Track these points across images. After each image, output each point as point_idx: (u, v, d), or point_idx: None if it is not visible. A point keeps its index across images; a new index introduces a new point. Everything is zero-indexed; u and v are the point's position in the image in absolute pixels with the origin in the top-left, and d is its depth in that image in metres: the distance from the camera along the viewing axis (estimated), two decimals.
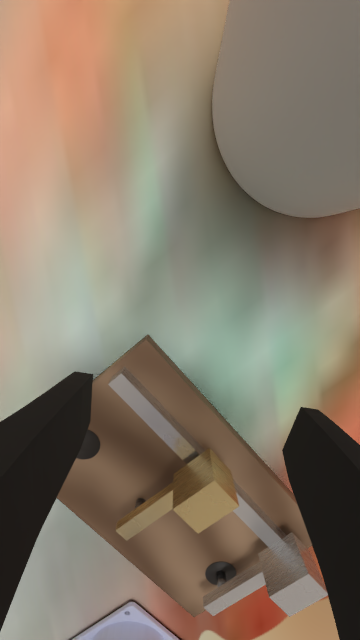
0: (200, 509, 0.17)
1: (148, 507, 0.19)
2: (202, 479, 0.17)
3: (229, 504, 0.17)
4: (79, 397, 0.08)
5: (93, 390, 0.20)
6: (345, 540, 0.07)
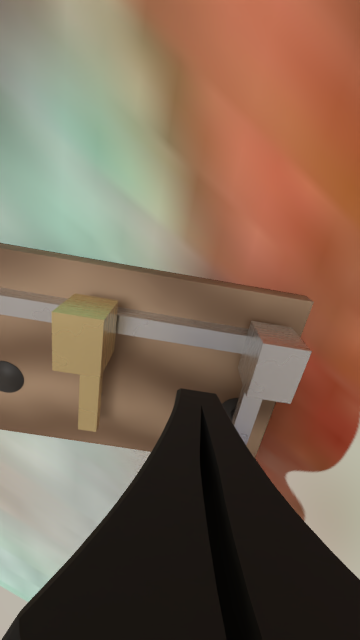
0: (74, 351, 0.13)
1: (80, 390, 0.17)
2: None
3: (92, 326, 0.13)
4: None
5: None
6: None
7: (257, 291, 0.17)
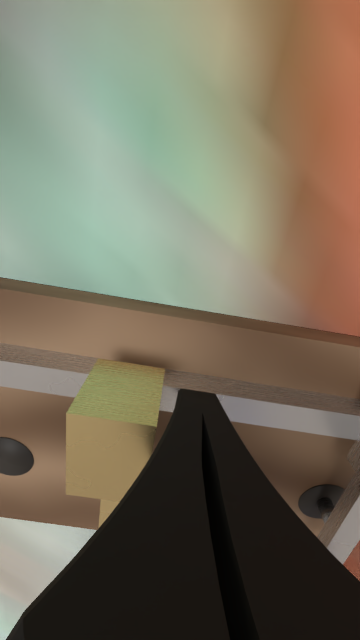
0: (102, 470, 0.08)
1: None
2: None
3: (136, 435, 0.07)
4: None
5: None
6: None
7: None
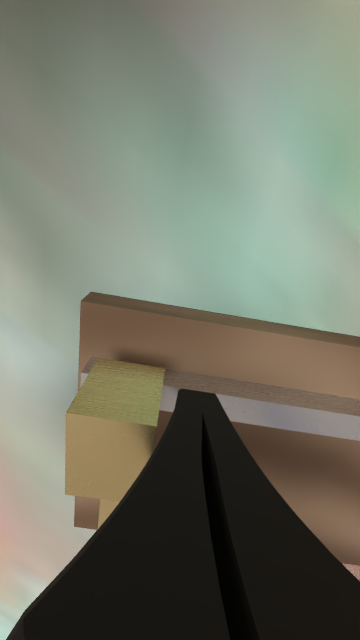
0: (102, 470, 0.08)
1: None
2: None
3: (137, 434, 0.07)
4: None
5: None
6: None
7: None
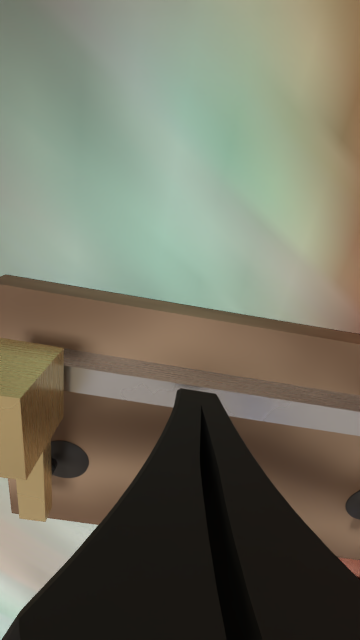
0: None
1: None
2: None
3: (2, 407, 0.07)
4: None
5: None
6: None
7: None
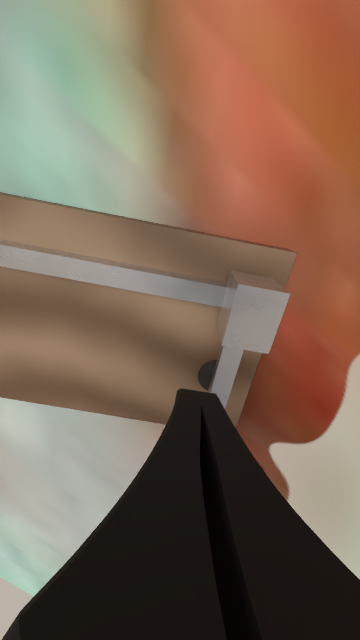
0: None
1: None
2: None
3: None
4: None
5: None
6: None
7: (238, 241, 0.16)
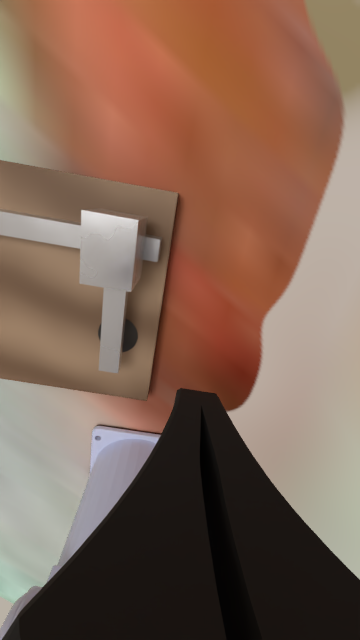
0: None
1: None
2: None
3: None
4: None
5: None
6: None
7: (115, 181, 0.15)
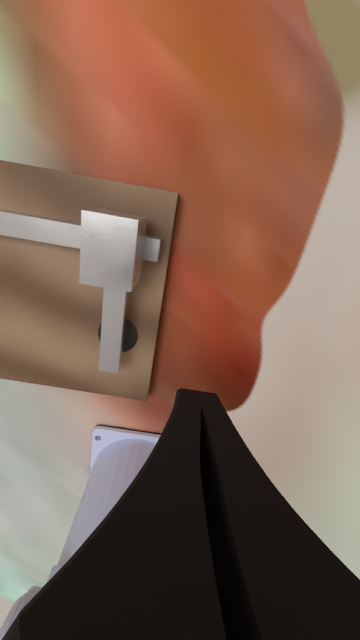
0: None
1: None
2: None
3: None
4: None
5: None
6: None
7: (115, 181, 0.15)
